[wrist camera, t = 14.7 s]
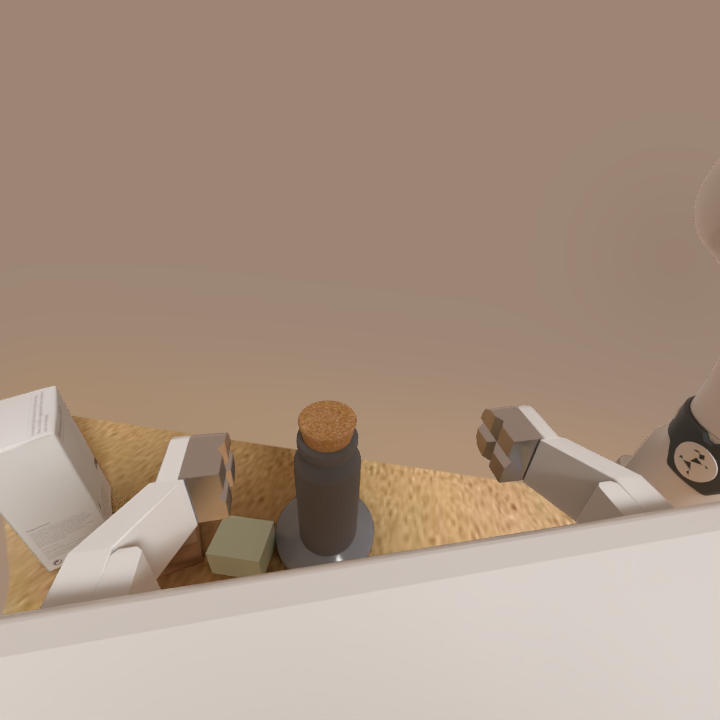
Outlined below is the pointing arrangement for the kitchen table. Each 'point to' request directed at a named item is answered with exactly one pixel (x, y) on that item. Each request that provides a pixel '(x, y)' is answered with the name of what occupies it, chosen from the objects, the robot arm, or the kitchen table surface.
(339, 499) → the bottle
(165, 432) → the kitchen table surface
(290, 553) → the grey dome disc
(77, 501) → the skincare box
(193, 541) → the walnut block
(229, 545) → the sage block
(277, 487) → the kitchen table surface
